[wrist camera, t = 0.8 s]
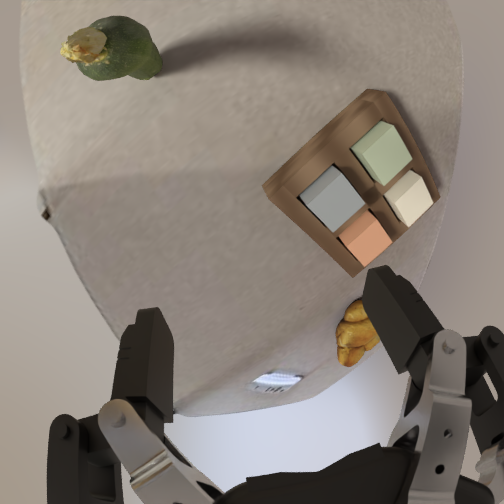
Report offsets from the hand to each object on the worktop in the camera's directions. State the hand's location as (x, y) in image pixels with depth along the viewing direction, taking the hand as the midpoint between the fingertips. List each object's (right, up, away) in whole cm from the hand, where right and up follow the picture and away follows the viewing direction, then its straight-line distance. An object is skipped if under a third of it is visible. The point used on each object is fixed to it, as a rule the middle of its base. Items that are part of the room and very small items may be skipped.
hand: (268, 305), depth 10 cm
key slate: (+8, +9, +20) cm, 24 cm away
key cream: (+19, +10, +22) cm, 31 cm away
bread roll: (+19, -11, +40) cm, 46 cm away
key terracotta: (+14, +5, +24) cm, 28 cm away
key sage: (+14, +14, +18) cm, 26 cm away
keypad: (+13, +11, +23) cm, 29 cm away
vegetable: (-11, +22, +12) cm, 27 cm away
